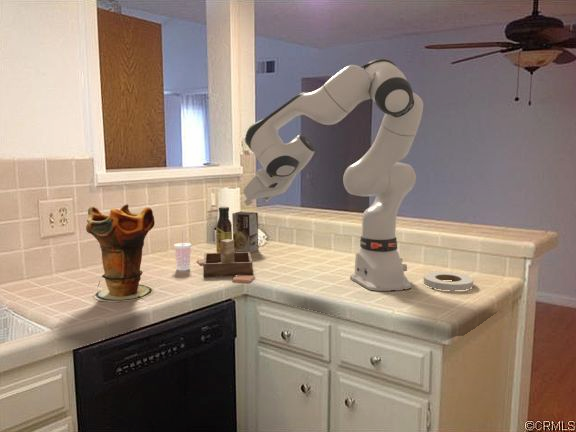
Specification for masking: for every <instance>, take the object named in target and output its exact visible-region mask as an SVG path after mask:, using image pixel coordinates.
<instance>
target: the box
mask: <svg viewBox="0 0 576 432" xmlns="http://www.w3.org/2000/svg"><path fill="white" fill-rule="evenodd" d="M234 258H235V262H234V263H219V262H221V253H217V252H205V253H204V257H203V259H204V262H203V265H202V267H203V269H202V270H203V277H204V278H210V277H232V276H233V277H235V275H253V273H254V271H253V270H254V269H253V268H254V266H253V260H252V255H251V253H250V252H241V251H236V252H235V251H234Z"/></svg>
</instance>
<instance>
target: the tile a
mask: <svg viewBox="0 0 576 432" xmlns="http://www.w3.org/2000/svg"><path fill="white" fill-rule="evenodd" d="M196 262H197V264H198V265H199V266H203V262H204V258H199V259H196Z"/></svg>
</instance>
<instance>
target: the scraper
mask: <svg viewBox="0 0 576 432" xmlns="http://www.w3.org/2000/svg"><path fill="white" fill-rule="evenodd" d="M234 252H235V251H234V240H233V239H232V240H231V239H226V240H222V241H221V262H219V263H234V262H235V258H234Z"/></svg>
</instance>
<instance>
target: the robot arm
mask: <svg viewBox="0 0 576 432" xmlns="http://www.w3.org/2000/svg"><path fill="white" fill-rule="evenodd" d="M367 100H373V102H374V104H375V106H376V107H377V108H378V109H379V110H380V111H381V112H383V113H384V114H383V115H384V116H383V118H382V121H381V123H380V127H379V130H378V132H377V134H376V137H375V139H374V141H373V143H372V144H371V147H370V148H369V149H368V150H367V151H366V153H365V154H364V155H363V156H362V157H361V158H360V159H359V160H357V161H356V162H354V163H353V164H350V165H349V166H347V168H346V169H345V171H344V174H343V178H342V179H343V180H342V182H343V186H344V189H345V190H346V192H347V193H348V194H350V195H354V196H356V197H357V196H359V197H375V199H374V201H373V203H372V204H371V205H370V206H369V207H368V208H366V209H365V210H364V212H363V213H362V216H361V217H362V218H361V219H362V221H361V236H360V240H359V246H360V249H359V250H358V252H357V253H356V254H355V261H354V262H355V263H354V264H355V265H354V273H353V274H350V275H349V279H350V280H352V281H353V280H354V282H355V283H357V284H359V285H360V286H362V287H364V288H366V289H367V290H369V291H379V292H382V291H383V292H387V291H388V292H389V291H390V292H391V290H395V291H404V290H403V289H405V290H409V288H410V289H411V288H412V284H411V283H410V281H409V280H408V278H407V276H406V275H405V272H407V271H408V265H407V264H406V263H403V258H402V257H400V254H399V251H398V250H397V249H398V240H397V237H396V231H397V230H396V229H397V216H398V212H399V209H400V206H401V205H402V202H403V200H404V198H405V197H406V196H407V195H408V193H409V192H411V191H412V190H413V188H414V186H415V185H416V180H417V176H416V172H415V169H414V168H413V167H412V165H411V164H409V163H403V162H400V161H401V160H404V158H405V157H407V155H408V154H409V152H410V150H411V148H412V145H413V143H414V140H415V139H416V138H415V137H416V135H417V133H418V129H419V127H420V123H421V120H422V116H423V110H424V102H423V99H422V98H421V97H420V96H419V95H418V94H416V93H415V92H414V91H413V87H412V85H411V83H410V82H409V81H408V80H407V78H406V75H405V74H404V73H403V72H402V70H400V69H399V68H398V67H397V66H396V64H395V63H394V62H393V61H391V60H389V59H387V58H383V57H382V58H380V57H379V58H376V59H373V60H371V61H369V62H368V63H365V64H363V65H362V66H359V65H357V64H349V65H347V66H345V67H343V68H342V69H340V70H339V71H338V72H337V73H336V74H334V75H332V76H331V77H330V78H329V79H328V80H327V81H326V82H325V83H324V84H323V85H322V86H321V87H319V88H318V89H316V90H313V91H302V92H299V94H297V95H295V96H294V97H292V98H290V99H289V100H287V101H286V102H285V103H284V104H282V105H280V106H279V107H278V108H276V109H275V110H274V111H273V112H271V113H270V114H269V115H267V116H266V117H264V118H262V119H260V120H258V121H256V122H255V123H253V124H252V125H250V126H249V127H248V128H247V130H246V134H245V138H244V142H245V144H246V145H247V146H248V148H249V149H250V150H251V152H252V153H253V154H254V156H255V158H256V159H257V161H258V162H259V163H260V165H261V166H262V168H260V169H258V170H257V171H256V172H255V176H254V177H252V178H251V180H250V181H249V182H248V183H247V185H246V186H245V187H244V189H243V192H242V193H243V195H244V196H245V197H246V199H245V200H244V204H245V206H250V205H252V203H253V201H254V200H256V199H261V200H262V201H263V202H264V203H267V202H268V201H270V200H271V199H272V198H273V197H275V196H279V195H282V194H284V193H286V191H287V190H288V189H289V188H290V186H291V185H292V183H293V180H295V178H296V177H297V174H298V173H300V172H301V171H302V170H303V169H304V168H305V167H306V166H307V165H308V163H309V162H310V161H311V159H312V158H313V156H314V155H315V150H316V149H315V147H314V145H313V144H312V143H311V141H310V140H309V139H308V138H307V137H306V136H304V135H302V134H298V135H297V136H295V137H294V138H293V139H292V140H290V142H287V143H285V142H284V141H283V139H281V136H280V135H279V131H280V130H279V129H281V128H282V127H284V126H285V125H286V124H288V123H289V122H290V121H292V120H293V119H295V118H297V117H298V116H305V117H308V119H309V118H310V119H311V120H313V121H315V122H317V123H319V124H321V125H327V126H332V125H336V124H338V123H339V122H341V121H342V120H343V119H344V118H346V117H347V116H348V115H349V114H350V113H351V112H352V111H353V110H355V108H356V107H357V106H358V105H360V104H361V103H363V102H365V101H367Z"/></svg>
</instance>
